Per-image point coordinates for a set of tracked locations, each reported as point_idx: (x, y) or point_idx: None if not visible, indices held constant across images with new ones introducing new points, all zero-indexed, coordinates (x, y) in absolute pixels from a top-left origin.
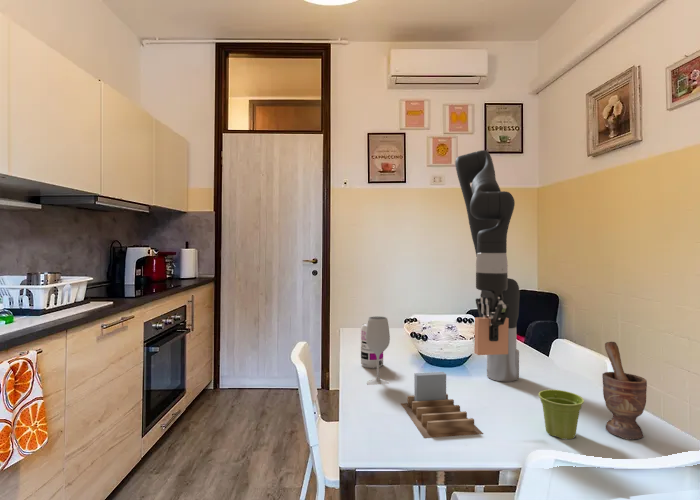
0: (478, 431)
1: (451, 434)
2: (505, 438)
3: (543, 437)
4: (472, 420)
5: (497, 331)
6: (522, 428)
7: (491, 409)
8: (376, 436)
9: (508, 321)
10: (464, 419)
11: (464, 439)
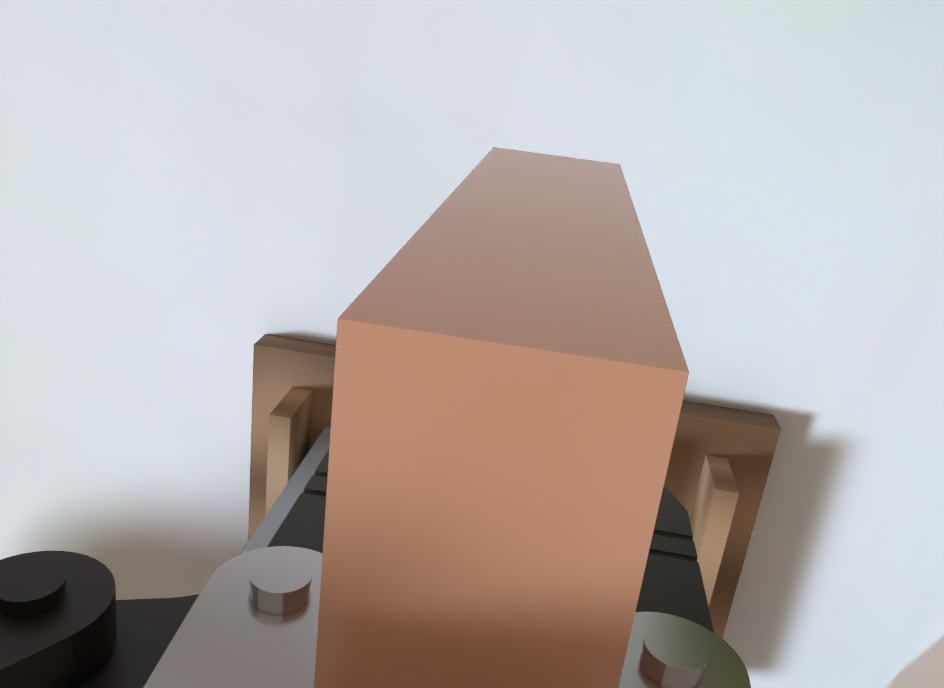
0: (740, 438)
1: (715, 590)
2: (817, 289)
3: (915, 30)
4: (735, 502)
5: (701, 606)
6: (743, 80)
7: (394, 91)
8: None
9: (673, 328)
10: (712, 544)
11: None
